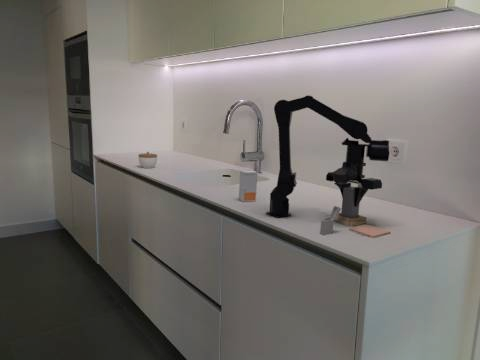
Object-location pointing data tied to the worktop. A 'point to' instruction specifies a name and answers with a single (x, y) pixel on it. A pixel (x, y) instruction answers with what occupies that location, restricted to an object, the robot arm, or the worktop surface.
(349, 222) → the wooden square frame
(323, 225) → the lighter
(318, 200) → the worktop surface
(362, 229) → the tile
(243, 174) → the skincare box
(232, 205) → the worktop surface
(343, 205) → the dark grey block
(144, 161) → the lidded jar
